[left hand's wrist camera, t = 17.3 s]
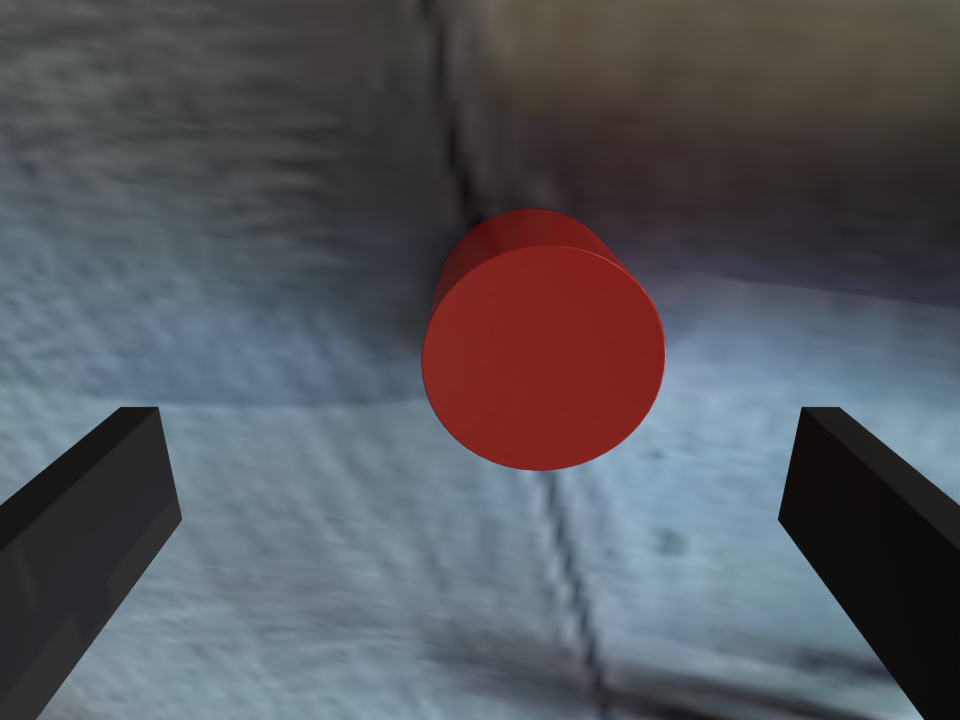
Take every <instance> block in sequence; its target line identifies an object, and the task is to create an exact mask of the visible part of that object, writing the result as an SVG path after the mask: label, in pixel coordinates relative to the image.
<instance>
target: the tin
mask: <svg viewBox="0 0 960 720" xmlns="http://www.w3.org/2000/svg"><path fill="white" fill-rule="evenodd" d="M665 362H666V344H665V337H664V332H663V326H662V324H661V321H660V318H659V315H658V312H657V310H656V308H655V306H654V305H653V303H652V301H651V299H650V297H649V296H648V295H647V293H646V292H645V291H644V289H643V288H642V286H641V285H640V284H639V283H638V282H637V281H636V279H635V278H634V277H633V276H632V275H631V274H630V273H629V271H628V270H627V269H626V268H625V267H624V266H623V265H622V263H621V262H620V261H619V260H618V259H617V258H616V257H615V255H614V254H613V253H612V252H611V251H610V250H609V249H608V247H607V246H606V245H605V244H604V243H603V242H602V241H601V239H600V238H599V237H598V236H597V235H596V234H595V233H594V232H593V231H591V230H590V229H589V228H588V227H586V226H585V225H584V224H582V223H580V222H579V221H577V220H575V219H573V218H572V217H569V216H567V215H564V214H561V213H558V212H554V211H550V210H544V209H519V210H513V211H508V212H505V213H501V214H498V215H495V216H493V217H491V218H489V219H487V220H485V221H483V222H481V223H480V224H478V225H477V226H475V227H474V228H472V229H471V230H470V231H469V232H468V233H466V234H465V235H464V236H463V237H462V238H461V239H460V240H459V242H458V243H457V244H456V245H455V247H454V248H453V249H452V251H451V252H450V253H449V255H448V257H447V259H446V261H445V263H444V265H443V268H442V270H441V273H440V276H439V280H438V284H437V288H436V292H435V296H434V300H433V304H432V308H431V312H430V316H429V320H428V324H427V328H426V332H425V337H424V341H423V346H422V357H421V366H422V378H423V382H424V387H425V391H426V394H427V397H428V399H429V402H430V405H431V406H432V408H433V410H434V412H435V414H436V416H437V417H438V419H439V420H440V422H441V423H442V424H443V426H444V427H445V428H446V430H447V431H448V432H449V433H450V434H451V435H452V436H453V437H454V438H455V439H456V440H457V441H459V442H460V443H461V444H462V445H463V446H465V447H466V448H467V449H469V450H470V451H472V452H474V453H475V454H477V455H478V456H481V457H483V458H485V459H487V460H489V461H491V462H494V463H497V464H500V465H503V466H506V467H511V468H516V469H522V470H532V471H544V470H556V469H564V468H568V467H572V466H576V465H579V464H582V463H585V462H588V461H590V460H593V459H595V458H597V457H599V456H601V455H603V454H605V453H606V452H608V451H610V450H611V449H613V448H614V447H616V446H617V445H619V444H620V443H621V442H622V441H623V440H625V439H626V438H627V437H628V436H629V435H630V434H631V433H632V432H633V431H634V430H635V429H636V428H637V427H638V426H639V425H640V423H641V422H642V421H643V419H644V418H645V417H646V415H647V414H648V412H649V411H650V409H651V407H652V405H653V403H654V401H655V400H656V397H657V395H658V392H659V390H660V387H661V384H662V380H663V376H664V371H665Z"/></svg>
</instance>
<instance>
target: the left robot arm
mask: <svg viewBox="0 0 960 720" xmlns="http://www.w3.org/2000/svg"><path fill="white" fill-rule="evenodd" d="M181 521H182V516H181V512H180V507H179V502H178V498H177V493H176V488H175V483H174V479H173V474H172V469H171V465H170V460H169V455H168V450H167V446H166V441H165V436H164V432H163V427H162V422H161V418H160V413H159V408H158V407H120V408H119V409H118V410H116V411H115V412H114V413H113V414H112V415H110V416H109V417H108V418H107V419H105V420H104V421H103V422H102V423H101V424H99V425H98V426H97V427H96V428H94V429H93V430H92V431H91V432H90V433H88V434H87V435H86V436H85V437H83V438H82V439H81V440H80V441H79V442H77V443H76V444H75V445H74V446H72V447H71V448H70V449H69V450H68V451H66V452H65V453H64V454H63V455H61V456H60V457H59V458H58V459H57V460H55V461H54V462H53V463H52V464H50V465H49V466H48V467H47V468H46V469H44V470H43V471H42V472H41V473H39V474H38V475H37V476H36V477H35V478H33V479H32V480H31V481H30V482H29V483H27V484H26V485H25V486H24V487H22V488H21V489H20V490H19V491H18V492H16V493H15V494H14V495H13V496H11V497H10V498H9V499H8V500H7V501H5V502H4V503H3V504H2V505H0V720H36V719H37V717H38V716H39V715H40V713H41V712H42V711H43V709H44V708H45V707H46V705H47V704H48V702H49V701H50V700H51V698H52V697H53V696H54V694H55V693H56V692H57V690H58V689H59V687H60V686H61V685H62V683H63V682H64V681H65V679H66V678H67V676H68V675H69V674H70V672H71V671H72V670H73V668H74V667H75V666H76V664H77V663H78V661H79V660H80V659H81V657H82V656H83V655H84V653H85V652H86V651H87V649H88V648H89V646H90V645H91V644H92V642H93V641H94V640H95V638H96V637H97V636H98V634H99V633H100V631H101V630H102V629H103V627H104V626H105V625H106V623H107V622H108V620H109V619H110V618H111V616H112V615H113V614H114V612H115V611H116V610H117V608H118V607H119V605H120V604H121V603H122V601H123V600H124V599H125V597H126V596H127V595H128V593H129V592H130V590H131V589H132V588H133V586H134V585H135V584H136V582H137V581H138V579H139V578H140V577H141V575H142V574H143V573H144V571H145V570H146V569H147V567H148V566H149V564H150V563H151V562H152V560H153V559H154V558H155V556H156V555H157V554H158V552H159V551H160V549H161V548H162V547H163V545H164V544H165V543H166V541H167V540H168V538H169V537H170V536H171V534H172V533H173V532H174V530H175V529H176V528H177V526H178V525H179V523H180V522H181ZM778 521H779V522H780V523H781V525H782V526H783V528H784V529H785V530H786V532H787V533H788V534H789V536H790V537H791V538H792V540H793V541H794V543H795V544H796V545H797V547H798V548H799V549H800V551H801V552H802V554H803V555H804V556H805V558H806V559H807V560H808V562H809V563H810V564H811V566H812V567H813V569H814V570H815V571H816V573H817V574H818V575H819V577H820V578H821V579H822V581H823V582H824V584H825V585H826V586H827V588H828V589H829V590H830V592H831V593H832V595H833V596H834V597H835V599H836V600H837V601H838V603H839V604H840V605H841V607H842V608H843V610H844V611H845V612H846V614H847V615H848V616H849V618H850V619H851V620H852V622H853V623H854V625H855V626H856V627H857V629H858V630H859V631H860V633H861V634H862V636H863V637H864V638H865V640H866V641H867V642H868V644H869V645H870V646H871V648H872V649H873V651H874V652H875V653H876V655H877V656H878V657H879V659H880V660H881V661H882V663H883V664H884V666H885V667H886V668H887V670H888V671H889V672H890V674H891V675H892V676H893V678H894V679H895V681H896V682H897V683H898V685H899V686H900V687H901V689H902V690H903V692H904V693H905V694H906V696H907V697H908V698H909V700H910V701H911V702H912V704H913V705H914V707H915V708H916V709H917V711H918V712H919V713H920V715H921V716H922V717H923V719H924V720H960V505H958V504H957V503H956V502H955V501H953V500H952V499H951V498H950V497H949V496H947V495H946V494H945V493H944V492H942V491H941V490H940V489H939V488H938V487H936V486H935V485H934V484H933V483H931V482H930V481H929V480H928V479H927V478H925V477H924V476H923V475H922V474H921V473H919V472H918V471H917V470H916V469H914V468H913V467H912V466H911V465H910V464H908V463H907V462H906V461H905V460H903V459H902V458H901V457H900V456H899V455H897V454H896V453H895V452H894V451H892V450H891V449H890V448H889V447H888V446H886V445H885V444H884V443H883V442H881V441H880V440H879V439H878V438H877V437H875V436H874V435H873V434H872V433H870V432H869V431H868V430H867V429H866V428H864V427H863V426H862V425H861V424H859V423H858V422H857V421H856V420H855V419H853V418H852V417H851V416H850V415H848V414H847V413H846V412H845V411H844V410H842V409H841V408H840V407H802V408H801V413H800V418H799V422H798V427H797V432H796V436H795V441H794V446H793V450H792V455H791V460H790V465H789V469H788V474H787V479H786V483H785V488H784V493H783V498H782V502H781V507H780V512H779V516H778Z"/></svg>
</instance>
